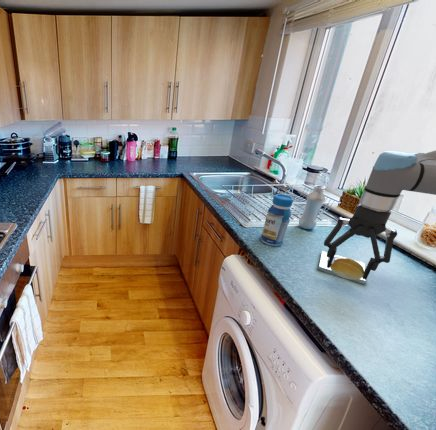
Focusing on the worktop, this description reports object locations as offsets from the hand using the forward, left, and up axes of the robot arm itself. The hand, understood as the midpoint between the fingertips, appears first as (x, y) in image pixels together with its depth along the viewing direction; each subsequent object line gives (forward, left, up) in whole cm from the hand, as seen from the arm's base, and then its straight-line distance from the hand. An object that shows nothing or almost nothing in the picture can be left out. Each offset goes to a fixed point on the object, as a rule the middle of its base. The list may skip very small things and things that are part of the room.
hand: (345, 271), depth 91 cm
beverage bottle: (+24, -18, -6) cm, 30 cm away
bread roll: (0, 0, 0) cm, 0 cm away
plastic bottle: (+14, -42, -6) cm, 44 cm away
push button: (0, -13, -6) cm, 14 cm away
